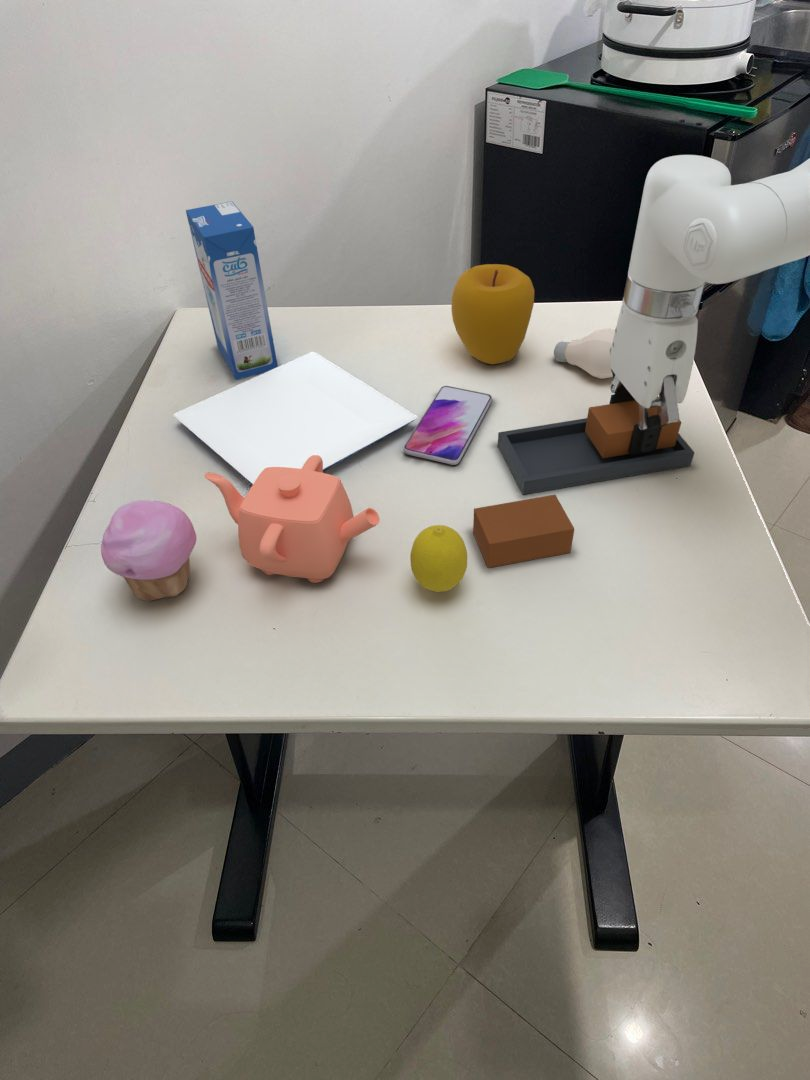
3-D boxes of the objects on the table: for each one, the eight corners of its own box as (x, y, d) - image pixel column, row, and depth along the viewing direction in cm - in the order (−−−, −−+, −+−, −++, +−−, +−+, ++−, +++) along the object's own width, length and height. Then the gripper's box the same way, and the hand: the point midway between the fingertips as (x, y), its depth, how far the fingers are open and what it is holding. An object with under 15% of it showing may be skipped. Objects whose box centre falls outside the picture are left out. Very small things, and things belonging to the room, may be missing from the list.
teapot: (345, 501, 84) (336, 428, 76) (386, 569, 76) (380, 495, 69) (223, 540, 80) (201, 467, 73) (253, 616, 72) (232, 543, 65)
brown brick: (472, 532, 79) (473, 508, 77) (551, 518, 80) (555, 494, 78) (487, 568, 75) (489, 544, 73) (570, 552, 77) (574, 528, 74)
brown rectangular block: (584, 431, 89) (588, 407, 86) (653, 420, 90) (659, 395, 88) (602, 458, 85) (607, 434, 83) (674, 446, 86) (681, 422, 84)
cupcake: (137, 554, 79) (107, 482, 72) (217, 554, 78) (195, 482, 71) (111, 619, 72) (76, 547, 65) (198, 619, 72) (172, 547, 65)
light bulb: (541, 332, 100) (616, 334, 93) (566, 322, 104) (639, 324, 97) (543, 380, 102) (616, 386, 95) (567, 369, 107) (639, 373, 100)
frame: (497, 445, 90) (498, 432, 89) (653, 419, 93) (656, 406, 91) (522, 495, 83) (524, 481, 82) (690, 466, 86) (694, 452, 85)
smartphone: (494, 394, 96) (457, 462, 87) (493, 400, 97) (457, 467, 87) (442, 384, 98) (400, 448, 88) (441, 389, 99) (400, 454, 89)
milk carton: (217, 347, 109) (185, 209, 95) (258, 337, 111) (231, 200, 97) (236, 380, 103) (203, 236, 89) (278, 369, 104) (253, 226, 90)
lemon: (472, 573, 75) (475, 516, 69) (457, 613, 71) (459, 556, 66) (421, 562, 76) (419, 504, 71) (403, 600, 73) (400, 543, 67)
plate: (272, 510, 83) (269, 496, 81) (175, 426, 95) (171, 412, 94) (419, 429, 93) (418, 415, 92) (314, 362, 105) (313, 349, 104)
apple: (437, 362, 104) (436, 275, 95) (476, 330, 110) (479, 245, 101) (505, 385, 99) (511, 295, 90) (542, 350, 106) (551, 262, 97)
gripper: (741, 328, 69) (694, 476, 82) (658, 253, 81) (628, 393, 94) (667, 338, 68) (631, 487, 81) (594, 262, 80) (573, 401, 93)
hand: (630, 435), depth 87 cm, fingers closed on brown rectangular block, 5 cm apart
